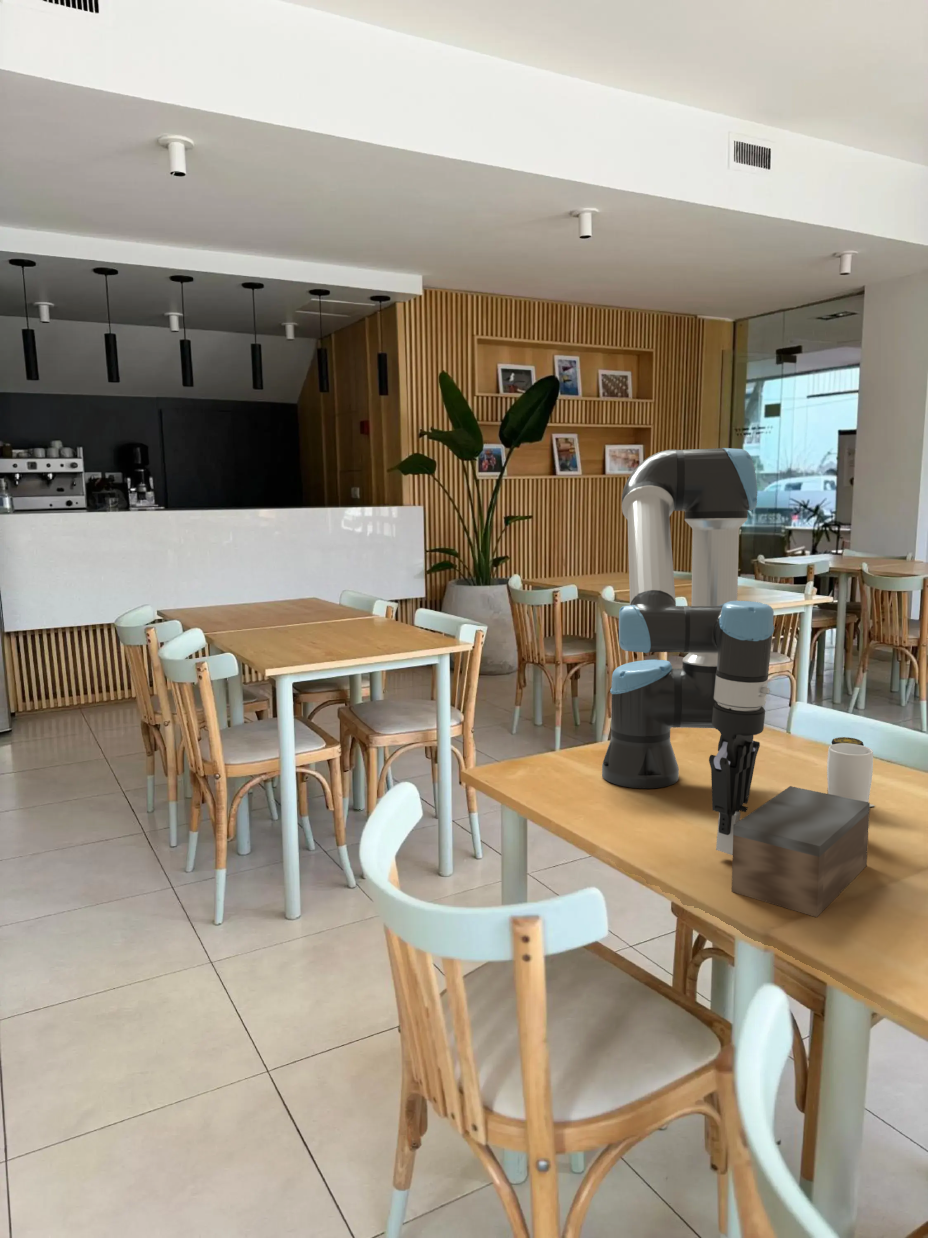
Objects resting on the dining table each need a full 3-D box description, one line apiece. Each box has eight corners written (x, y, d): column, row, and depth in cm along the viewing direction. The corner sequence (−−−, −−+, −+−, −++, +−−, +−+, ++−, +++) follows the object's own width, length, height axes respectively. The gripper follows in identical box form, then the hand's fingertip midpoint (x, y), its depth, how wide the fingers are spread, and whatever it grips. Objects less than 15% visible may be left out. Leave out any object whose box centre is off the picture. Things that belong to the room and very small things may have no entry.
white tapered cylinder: (816, 830, 146) (820, 743, 144) (855, 828, 147) (859, 742, 145) (837, 846, 139) (841, 756, 137) (877, 844, 140) (882, 754, 138)
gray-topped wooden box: (731, 891, 124) (733, 825, 123) (788, 845, 140) (790, 786, 139) (816, 917, 116) (819, 846, 115) (866, 865, 132) (869, 802, 131)
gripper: (744, 718, 124) (730, 872, 128) (781, 701, 134) (767, 845, 138) (696, 707, 129) (684, 856, 133) (734, 692, 138) (722, 831, 142)
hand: (726, 850), depth 135 cm, fingers closed
